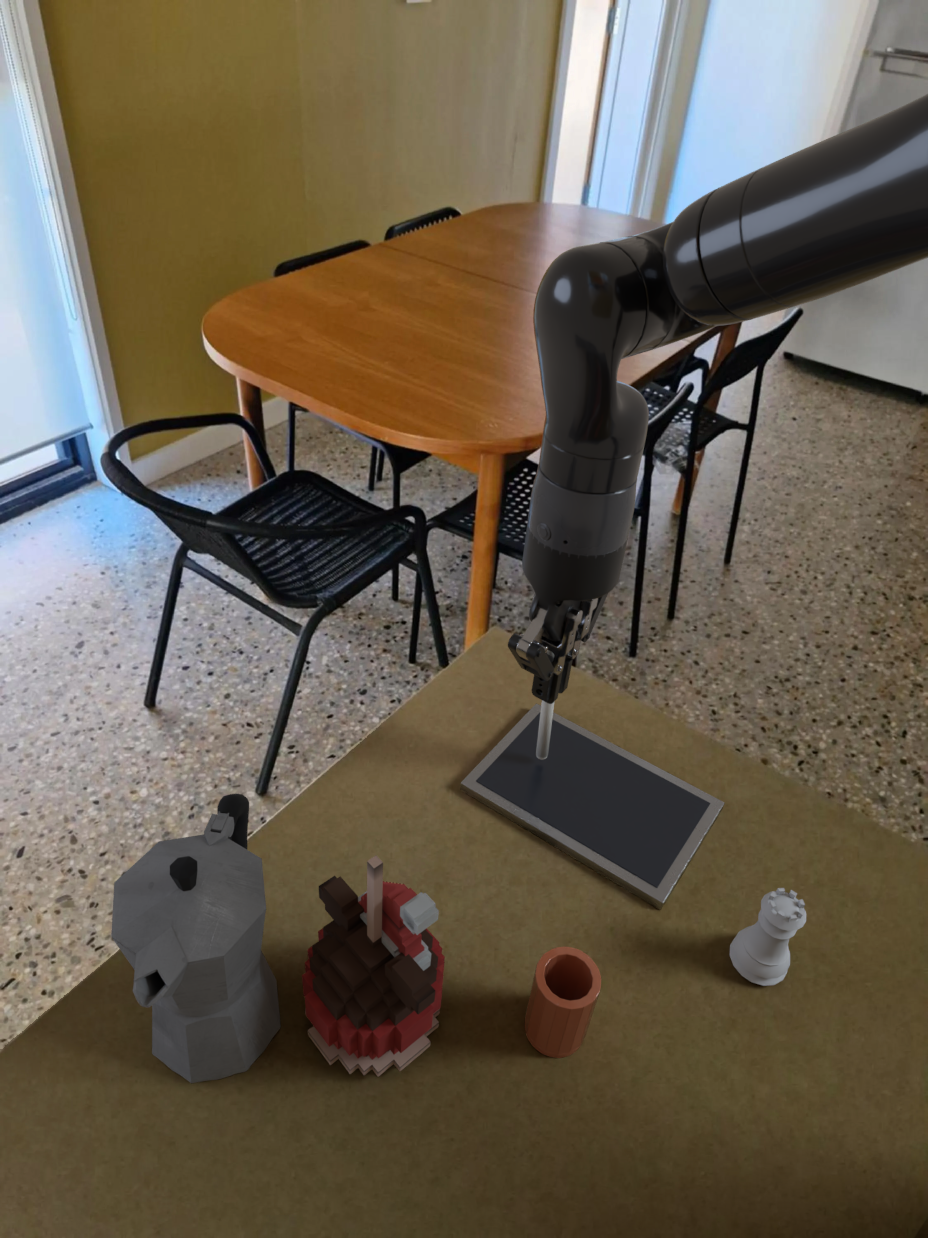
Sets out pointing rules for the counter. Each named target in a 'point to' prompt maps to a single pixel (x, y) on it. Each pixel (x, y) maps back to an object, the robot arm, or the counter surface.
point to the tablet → (597, 804)
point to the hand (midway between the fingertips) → (549, 692)
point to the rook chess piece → (769, 939)
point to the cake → (374, 975)
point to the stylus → (544, 727)
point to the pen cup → (561, 1001)
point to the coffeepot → (200, 947)
